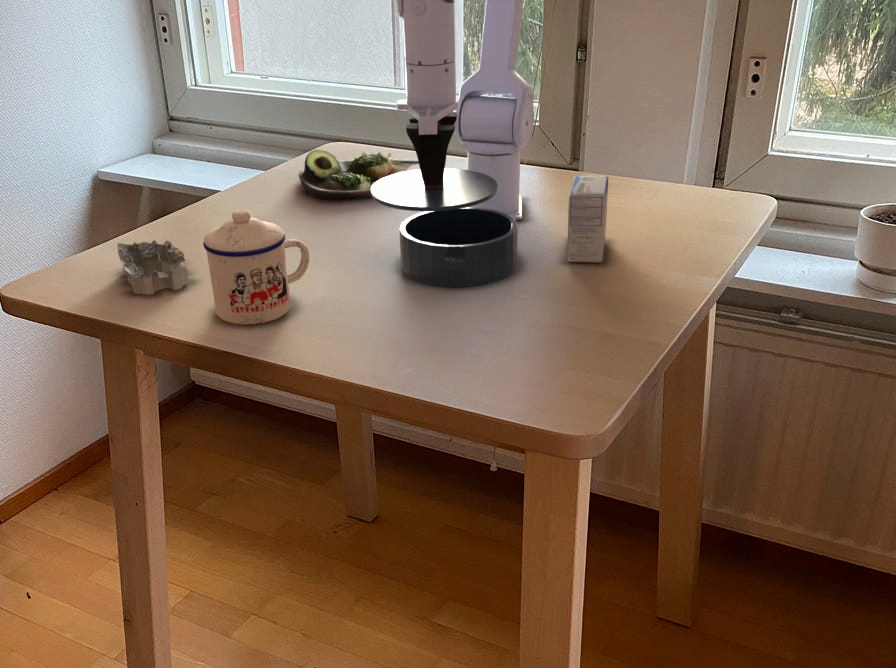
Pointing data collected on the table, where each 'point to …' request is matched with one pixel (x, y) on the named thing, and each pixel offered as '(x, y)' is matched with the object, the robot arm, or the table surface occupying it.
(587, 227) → the medicine box
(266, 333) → the table surface
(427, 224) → the pot
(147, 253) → the egg carton
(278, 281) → the teacup with lid
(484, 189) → the pot lid
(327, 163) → the salad plate
